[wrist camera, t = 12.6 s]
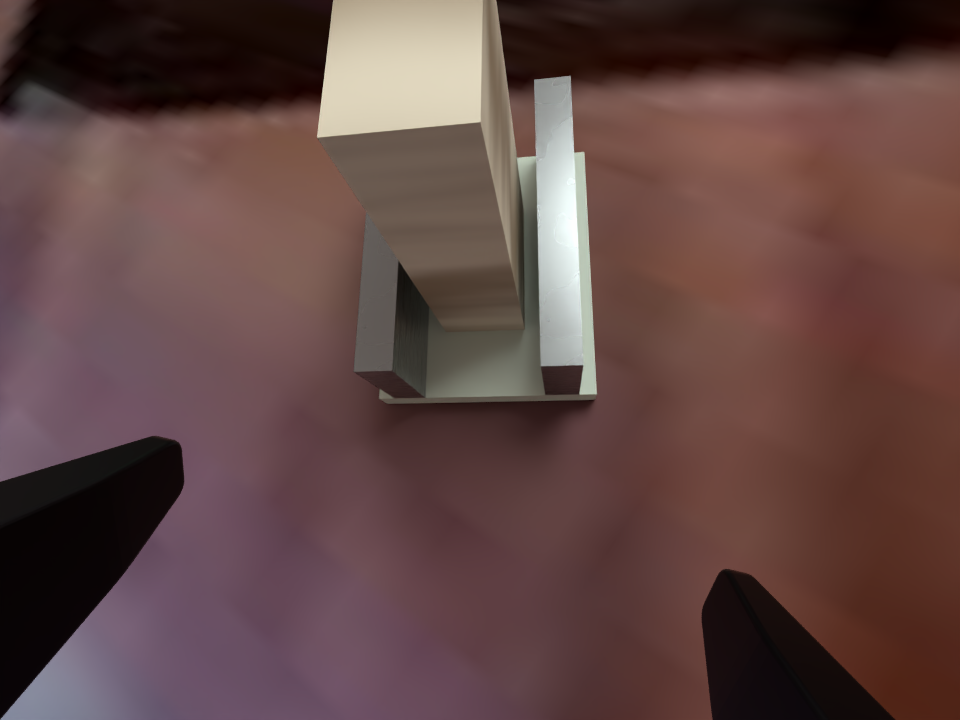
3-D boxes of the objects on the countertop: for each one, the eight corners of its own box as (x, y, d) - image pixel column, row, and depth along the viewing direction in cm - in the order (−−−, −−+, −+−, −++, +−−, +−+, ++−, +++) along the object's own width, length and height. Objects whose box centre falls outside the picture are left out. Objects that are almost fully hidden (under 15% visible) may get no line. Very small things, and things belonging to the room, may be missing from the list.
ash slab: (524, 329, 20) (480, 121, 9) (446, 332, 20) (316, 137, 9) (523, 210, 21) (484, -89, 10) (450, 215, 21) (341, -67, 11)
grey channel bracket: (595, 399, 19) (605, 364, 15) (387, 403, 21) (334, 372, 16) (583, 167, 22) (588, 74, 17) (400, 182, 23) (359, 99, 19)
